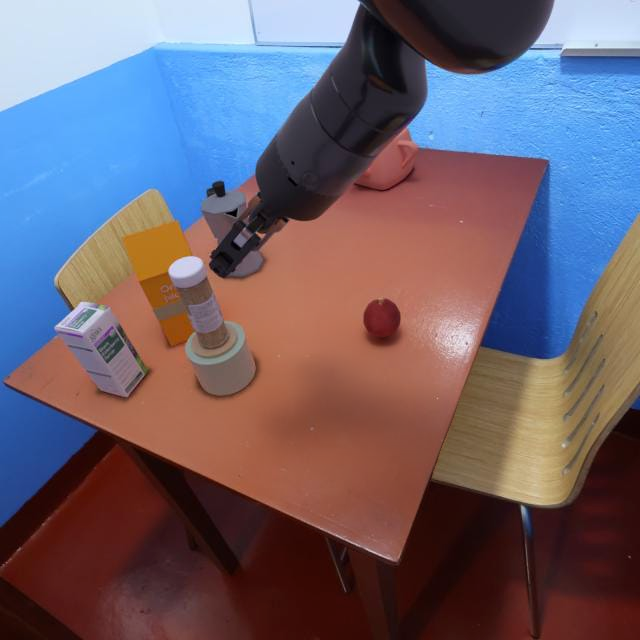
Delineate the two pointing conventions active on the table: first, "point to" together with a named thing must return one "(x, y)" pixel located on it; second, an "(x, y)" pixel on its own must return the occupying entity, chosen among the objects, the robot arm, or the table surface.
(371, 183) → the pot
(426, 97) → the robot arm
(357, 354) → the table surface
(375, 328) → the onion
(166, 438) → the table surface
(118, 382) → the syrup box
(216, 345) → the sprinkles bottle
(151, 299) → the orange juice
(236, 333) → the pale green cylinder
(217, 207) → the coffee maker
